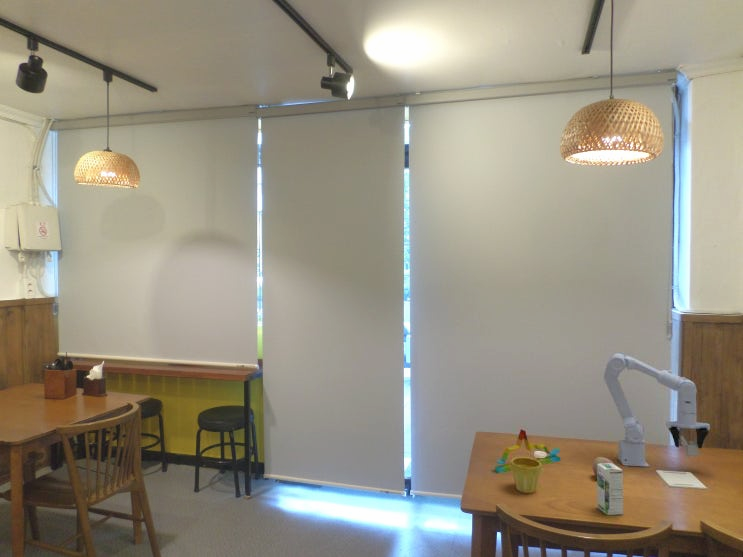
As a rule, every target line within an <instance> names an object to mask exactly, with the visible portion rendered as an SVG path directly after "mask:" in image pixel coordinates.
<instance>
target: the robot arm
mask: <svg viewBox="0 0 743 557" xmlns="http://www.w3.org/2000/svg"><path fill="white" fill-rule="evenodd" d="M625 369H626V371H631V370H636V371H638V372H640V373H643V374H646V375H648V376H649V377H653V378H654V379H656V380H657V383H658V384H660V385H663V386H664V387H666V388H669V389H670V390H673V391H677V392H679V398H678V420H677V421H674V420H673V421H665V427H666V428H667V429H668V430H669V432H670V434H671V437H672V439H673V443H674V446H675V447H676V448H680V440H679V435H680V434H681V433H680V430H679V429H695V431H696V443H697V444H698V448H699V449H702V448H703V444H704V442H705V439H706V438H707V436H708V434H709V431H710V430H711V424H709V423H707V422H697V421H698V420H697V417H698V416H697V400H696V399H697V396H696V395H697V392H698V390H697V387H696V384H695V382H693V381H692V380H690V379H689V378H686V377H685V376H682V377H681V376H679V375H677V374H675V373H673V371H672V370H670V369H668V370H666V369H663V370H659V369H657V368H655V367H652V366H651V365H649V364H647V363H645V362H643V361H640V360H638V359H636V358H634V357H633V356H630V355H625V354H624V353H622V352H616V353H613V354H612V355H611V356H610V358H609V359H608V362H606V366H605V370H604V374H603V379H604V381H605V384H606V386H607V388H608V391H609V394H611V397H612V399H613V402H614V404H615V406H616V409H617V411H618V412H619V415H620V417H621V420H622V424H623V426H624V430H625V433H624V434H625V435H624V436H625V437H624V439H620V440H618V446H617V449H618V453H617V454H618V457H617V459H618V460H619V462H620V463H621V464H622V465H623V466H630V467H644V468H645V467H646V468H647V467H648V468H649V467H650V465H649V464H648V462H647V461H646V440H645V439H644V432H645V429H644V426H643V425H642V424H641V423H640V422H639V421H638V418H637V417H636V416H635V414H634V412H633V410H632V407H631V404H630V403H629V401H628V398H627V396H626V394H625V391H624V389H623V388H622V386H621V383H620V381H619V379H618V378H619V376H620V373H621V372H624V370H625Z"/></svg>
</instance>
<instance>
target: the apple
mask: <svg viewBox="0 0 743 557" xmlns="http://www.w3.org/2000/svg"><path fill="white" fill-rule="evenodd" d="M601 463H612V464H614V462H613V460H610V459H608V458H606V457H601V456H598V457H596V458H595V459H594V460H593V462H592V467H591V468H592V471H593V474H594V476H596V477H597V464H601ZM614 465H615V464H614Z"/></svg>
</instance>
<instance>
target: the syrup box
mask: <svg viewBox="0 0 743 557" xmlns="http://www.w3.org/2000/svg"><path fill="white" fill-rule="evenodd" d="M596 477H597V480H596V483H597V484H596V486H597V489H596V490H597V491H596V492H597V508H598V509H599V510H600V511H602V513H604V514H605V515H606V516H617V515H624V498H623V497H624V488H623V487H624V481H623V480H624V479H623V478H624V475H623V469H622V468H620V467H619V466H617V465H616V464H612V463H601V464H597V476H596Z"/></svg>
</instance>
